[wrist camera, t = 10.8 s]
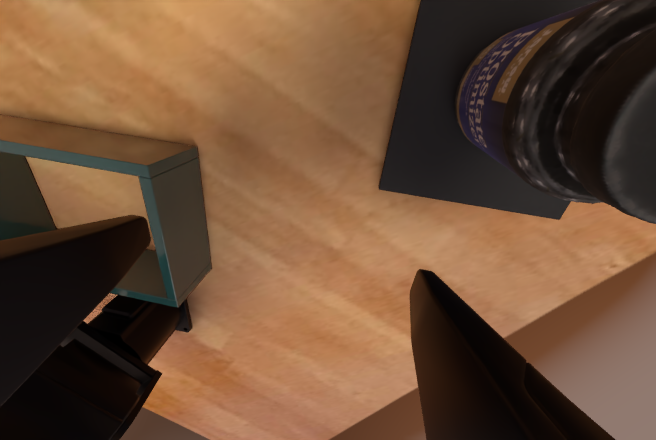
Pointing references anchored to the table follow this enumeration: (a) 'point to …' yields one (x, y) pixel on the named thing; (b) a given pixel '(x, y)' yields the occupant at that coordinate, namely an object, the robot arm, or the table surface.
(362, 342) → the table surface
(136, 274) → the teal open box
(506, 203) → the mat
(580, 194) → the pill bottle
